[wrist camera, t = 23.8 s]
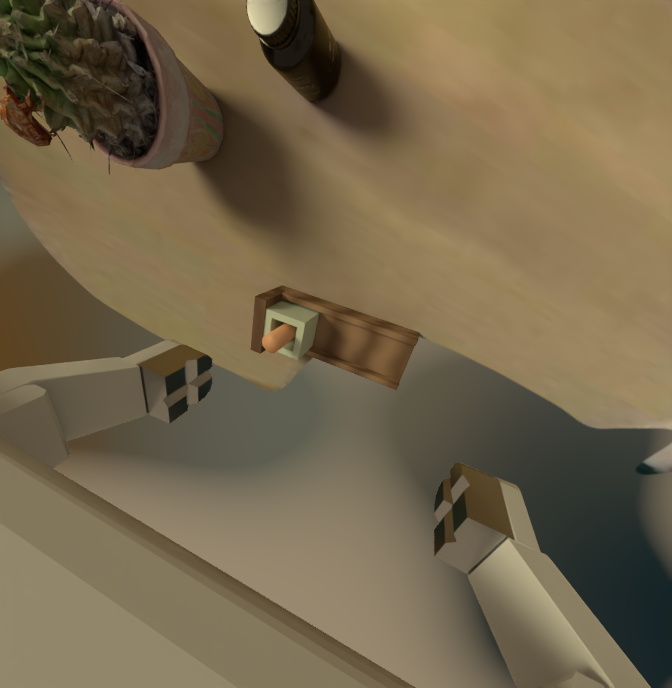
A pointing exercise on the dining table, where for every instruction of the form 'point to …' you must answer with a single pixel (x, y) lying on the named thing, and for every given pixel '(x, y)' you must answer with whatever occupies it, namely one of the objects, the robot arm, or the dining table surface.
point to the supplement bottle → (297, 44)
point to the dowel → (279, 337)
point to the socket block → (296, 317)
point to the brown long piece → (345, 337)
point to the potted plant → (103, 83)
